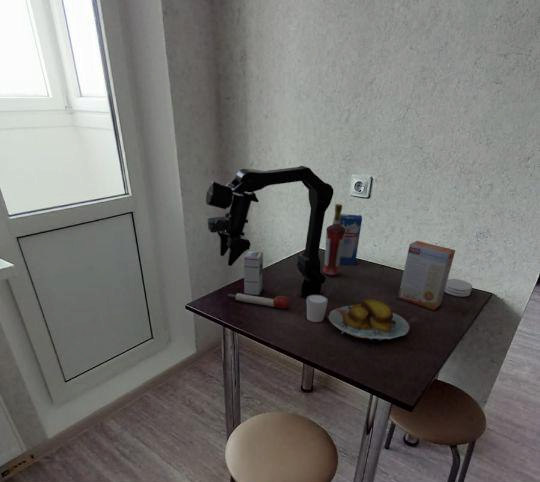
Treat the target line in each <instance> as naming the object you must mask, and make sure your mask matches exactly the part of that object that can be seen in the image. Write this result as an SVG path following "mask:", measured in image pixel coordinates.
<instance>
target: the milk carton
mask: <svg viewBox="0 0 540 482" xmlns="http://www.w3.org/2000/svg"><path fill="white" fill-rule="evenodd" d="M362 222H363V216H362V215H361V214H360V215H358V214H348V213H347V214H346V213H345V214H344V213H341V221H340V225H341V226H343V227H344V228H345V235H344V241H343V246H342V251H341V257H340V263H339V265H349V266H355V265H356V261H357V254H358V248H359V241H360V237H361V229H362V224H363V223H362Z"/></svg>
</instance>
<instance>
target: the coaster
mask: <svg viewBox="0 0 540 482" xmlns="http://www.w3.org/2000/svg"><path fill="white" fill-rule="evenodd" d="M472 289H473V284H471V283H470V282H468V281H466V280H464V279H458V278H448V279H447V283H446V287H445V290H444V293H446V294H448V295H450V296H453V297H458V298H466V297H469V296H470V295H471V294H472V293H471V292H472Z"/></svg>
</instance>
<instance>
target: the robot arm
mask: <svg viewBox="0 0 540 482" xmlns="http://www.w3.org/2000/svg"><path fill="white" fill-rule="evenodd" d="M298 182H301V183H302V184H303V186H305V188H306V189H307V190H308V203H309V207H310V212H309V220H308V226H307V234H306V240H305V241H306V242H305V247H304V251H303V253H302V254H298V255H297V263H296V266H297V270H298V271H299V273H300V274H301V275H302V277H304V278H303V281H302V282H301V290H300V293H301V295H300V297H301V298H304V299H307V297H308V296H310V295H321V296H322V293H323V292H322V286H323V284H325V282H326V280H327V277H326V275H325V274H324V273H322V272H321V259H320V254H319V252H320V248H321V247H320V245H321V239H322V234H323V227H324V221H325V214H326V211H327V210H328V209H329V207H330V205H331V203H332V200H333V196H334V194H335V193H334V188H333V186H332V185H331V184H329V182H325V181H323V179H321V178H320V177H319V176H318V175H317V174H316V173H314V172H313V170H312V169H311V168H310V167H308V166H305V165H299V166H296V167H285V168H278V169H270V170H260V169H254V168H241V169H239V170H238V171H237V173H236V175H235V177H234V178H233V179H232V180H231V181H229V182H228V183H226V184H222V183H220V182H217V181H214V180H213V181H211V185H210V186H209V188H208V190H207V191H206V196H205V203H206V205H207V206H211V207H214V208H218V209H222V210H226V209H228V208H229V210H228V211H226V212H225V214H224V216H215V217H209V218H206V219H207V230H208V231H209V232H210V233H212V234H213V233H216V234H217V236H219V256H221V257H224V256H225V254H226V253H227V252H228V259H227V266H228V267H232V266H233V265H234V263H235V262H236V261H237V260H238V259H240V257H241V256H242V255H243V254H244V253H245V252H248V251H250V248H251V245H252V243H251V241H250V240H249V238H247V237H246V236H245V233H246V232H245V231H244V229H245V226H246V224H249V219H248V215H249V212H250V208H251V204H252V202H254V203H259V201H260V200H259V199H258V197H257V194H256V192H257V191H260V190H263V189H264V188H266V187H269V186H275V185H281V184H290V183H291V184H292V183H298ZM228 250H229V251H228Z"/></svg>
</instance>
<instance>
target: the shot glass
mask: <svg viewBox="0 0 540 482" xmlns="http://www.w3.org/2000/svg"><path fill="white" fill-rule="evenodd" d="M328 301H329V299H328V298H327V297H326V296H324V295H322V294H321V295H310V296H308V297H307V298H306V319H307V320H308V321H310V322H312V323H321V322H324V319H325V315H326V310H327V306H328Z"/></svg>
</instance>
